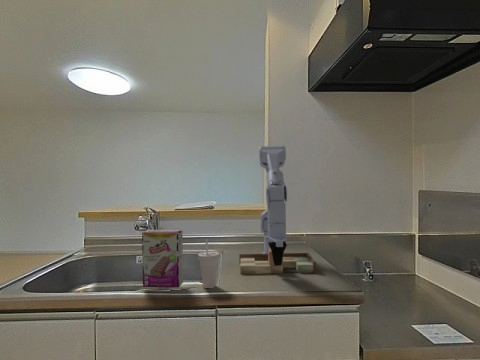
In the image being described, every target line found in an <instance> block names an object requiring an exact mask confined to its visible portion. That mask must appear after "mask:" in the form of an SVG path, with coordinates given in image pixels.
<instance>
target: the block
mask: <svg viewBox="0 0 480 360" xmlns="http://www.w3.org/2000/svg"><path fill="white" fill-rule="evenodd" d="M268 262H269V265H274V262H273V256H272V251H271V249H268ZM281 265H283V258H282V264H281Z"/></svg>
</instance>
